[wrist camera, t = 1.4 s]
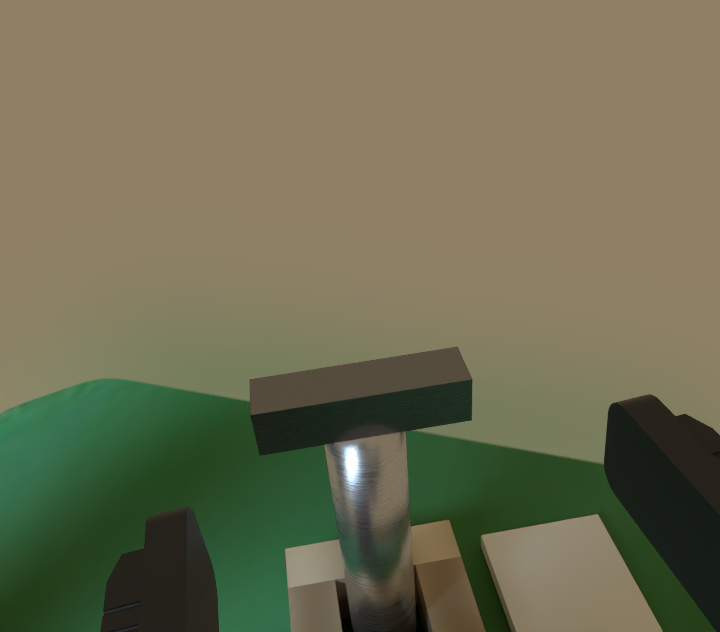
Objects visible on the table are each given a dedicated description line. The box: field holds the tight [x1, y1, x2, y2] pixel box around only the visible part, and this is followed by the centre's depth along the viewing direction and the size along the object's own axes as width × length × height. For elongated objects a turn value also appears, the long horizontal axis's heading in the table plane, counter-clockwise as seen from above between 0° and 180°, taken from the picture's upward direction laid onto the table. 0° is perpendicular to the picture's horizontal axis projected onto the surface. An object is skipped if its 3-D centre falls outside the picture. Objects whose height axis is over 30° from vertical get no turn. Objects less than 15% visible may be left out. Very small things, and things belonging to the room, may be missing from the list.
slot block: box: [285, 520, 485, 632], centre depth 34 cm, size 9×9×4 cm
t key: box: [250, 347, 472, 632], centre depth 30 cm, size 8×3×18 cm, turn 99°
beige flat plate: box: [481, 514, 663, 632], centre depth 36 cm, size 7×10×1 cm
